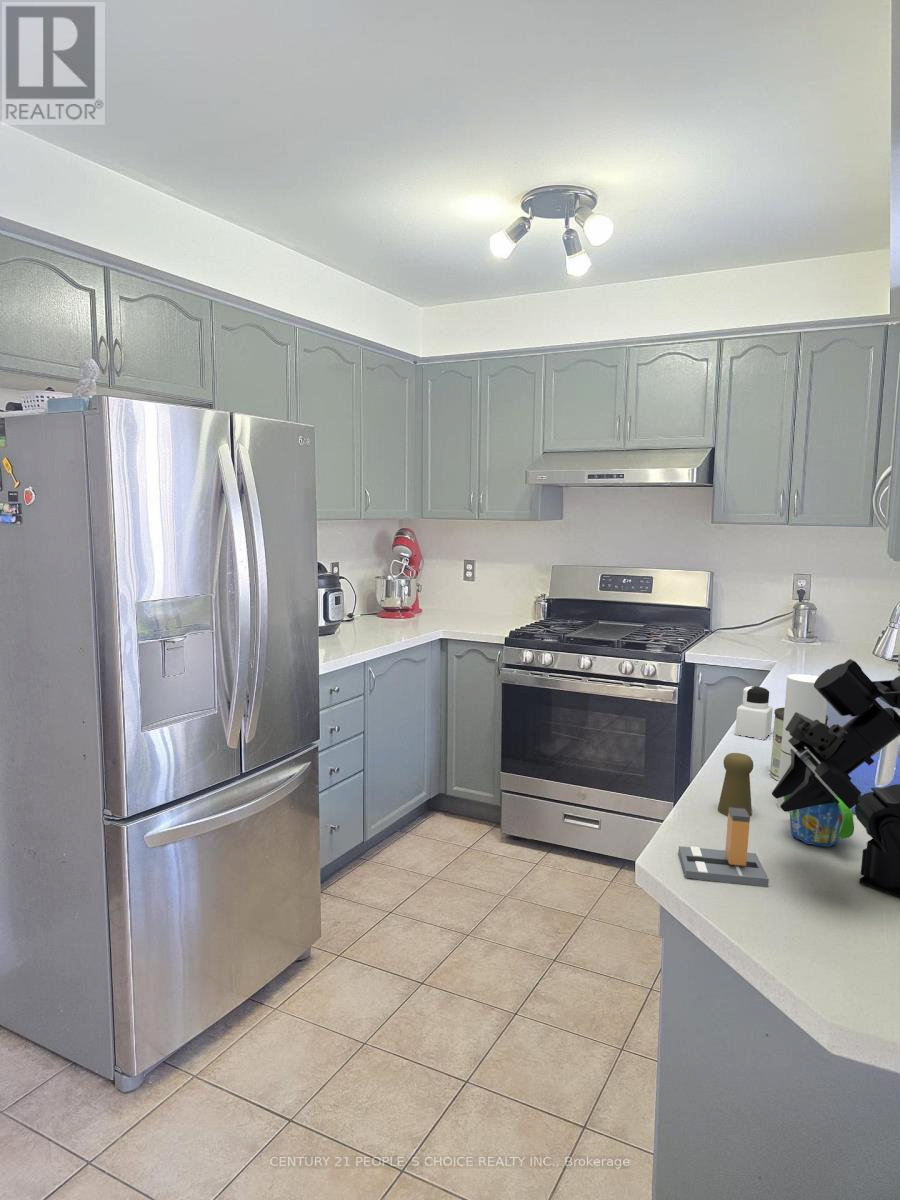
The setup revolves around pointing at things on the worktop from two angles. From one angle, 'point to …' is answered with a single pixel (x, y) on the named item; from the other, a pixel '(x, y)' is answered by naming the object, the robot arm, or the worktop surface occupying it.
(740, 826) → the fader tab
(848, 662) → the robot arm
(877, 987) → the worktop surface
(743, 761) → the cork
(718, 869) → the fader console
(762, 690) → the medicine bottle
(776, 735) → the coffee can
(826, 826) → the snack cup
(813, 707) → the cylindrical container
